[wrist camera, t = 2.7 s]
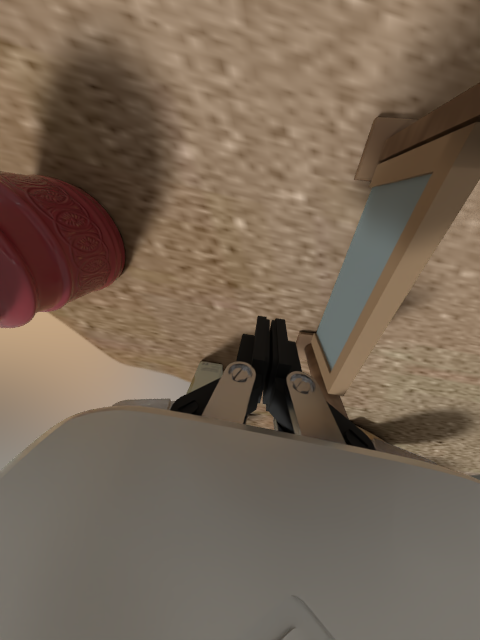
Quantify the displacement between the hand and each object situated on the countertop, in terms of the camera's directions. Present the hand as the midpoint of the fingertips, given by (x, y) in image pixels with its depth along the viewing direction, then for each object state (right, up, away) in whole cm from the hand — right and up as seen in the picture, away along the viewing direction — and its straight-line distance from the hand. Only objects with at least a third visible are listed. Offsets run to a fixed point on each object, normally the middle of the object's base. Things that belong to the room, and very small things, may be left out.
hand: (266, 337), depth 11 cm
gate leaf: (+10, +6, +10) cm, 15 cm away
